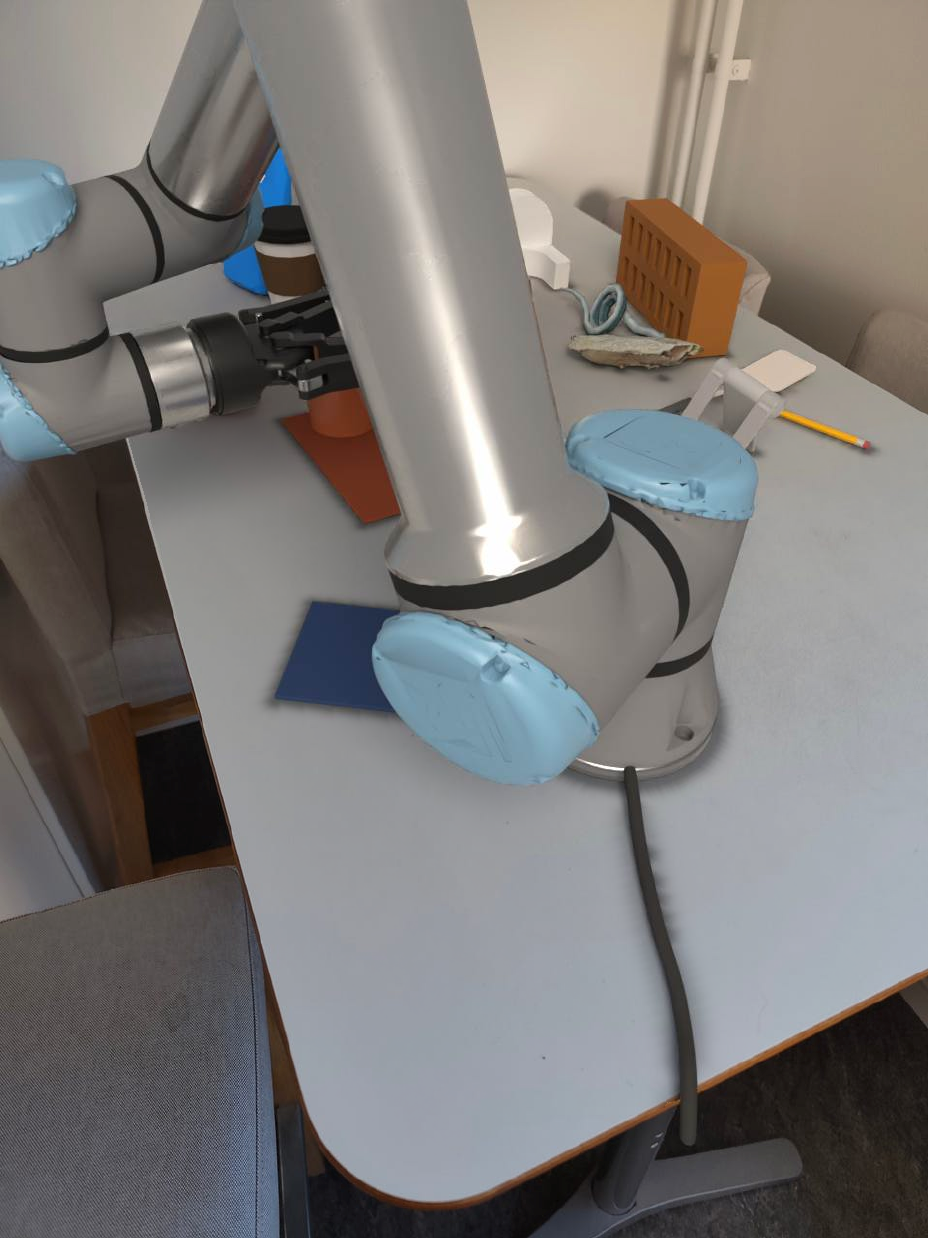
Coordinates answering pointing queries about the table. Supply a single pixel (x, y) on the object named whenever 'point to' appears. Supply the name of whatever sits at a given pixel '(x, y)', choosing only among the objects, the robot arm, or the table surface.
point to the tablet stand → (737, 402)
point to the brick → (679, 274)
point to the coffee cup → (287, 254)
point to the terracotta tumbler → (339, 411)
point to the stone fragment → (633, 350)
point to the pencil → (825, 429)
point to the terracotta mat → (350, 468)
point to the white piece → (538, 239)
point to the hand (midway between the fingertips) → (446, 312)
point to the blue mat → (336, 658)
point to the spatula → (766, 375)
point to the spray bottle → (245, 262)
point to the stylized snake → (599, 314)
